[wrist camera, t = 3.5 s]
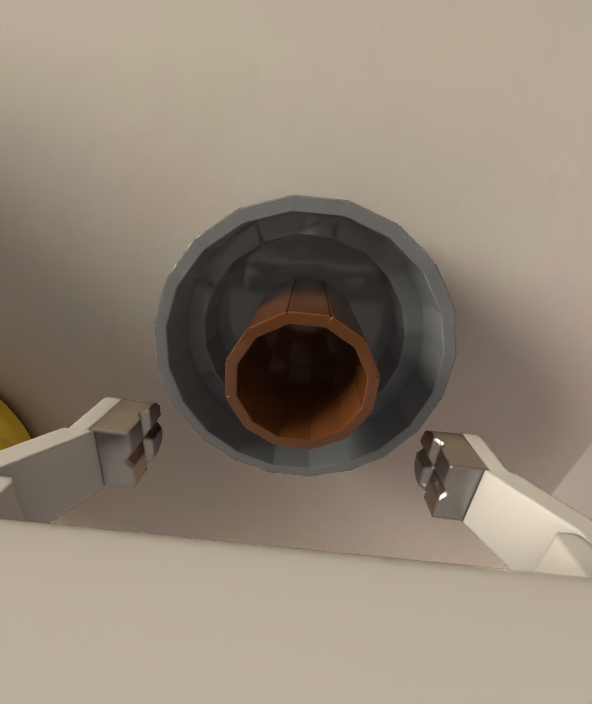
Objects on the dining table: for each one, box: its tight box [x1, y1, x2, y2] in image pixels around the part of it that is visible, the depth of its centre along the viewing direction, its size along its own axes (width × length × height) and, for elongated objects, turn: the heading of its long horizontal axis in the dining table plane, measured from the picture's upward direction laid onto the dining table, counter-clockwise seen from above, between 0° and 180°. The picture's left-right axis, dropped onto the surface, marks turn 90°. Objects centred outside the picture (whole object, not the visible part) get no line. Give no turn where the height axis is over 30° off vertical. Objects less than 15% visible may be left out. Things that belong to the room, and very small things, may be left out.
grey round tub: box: [154, 195, 456, 476], centre depth 18 cm, size 14×14×6 cm
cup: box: [225, 277, 380, 449], centre depth 16 cm, size 6×6×8 cm
